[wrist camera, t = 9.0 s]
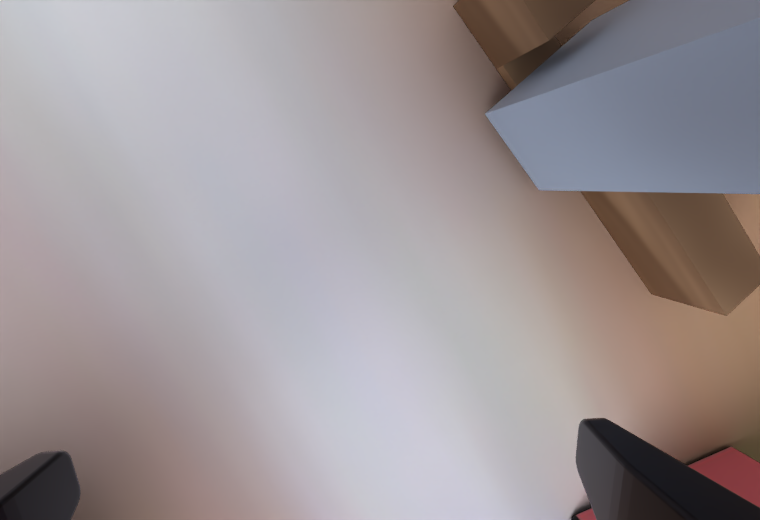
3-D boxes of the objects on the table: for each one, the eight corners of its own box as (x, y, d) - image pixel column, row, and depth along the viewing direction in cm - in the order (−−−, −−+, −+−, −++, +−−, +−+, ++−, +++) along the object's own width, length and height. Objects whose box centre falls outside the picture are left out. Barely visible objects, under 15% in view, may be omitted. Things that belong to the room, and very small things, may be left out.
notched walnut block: (651, 294, 23) (726, 316, 19) (453, 6, 19) (497, -40, 15) (688, 259, 23) (770, 274, 19) (499, -34, 19) (554, -89, 15)
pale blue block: (539, 190, 20) (962, 197, 8) (484, 113, 19) (867, -20, 7) (640, 99, 21) (1204, -35, 8) (592, 20, 20) (1148, -275, 7)
